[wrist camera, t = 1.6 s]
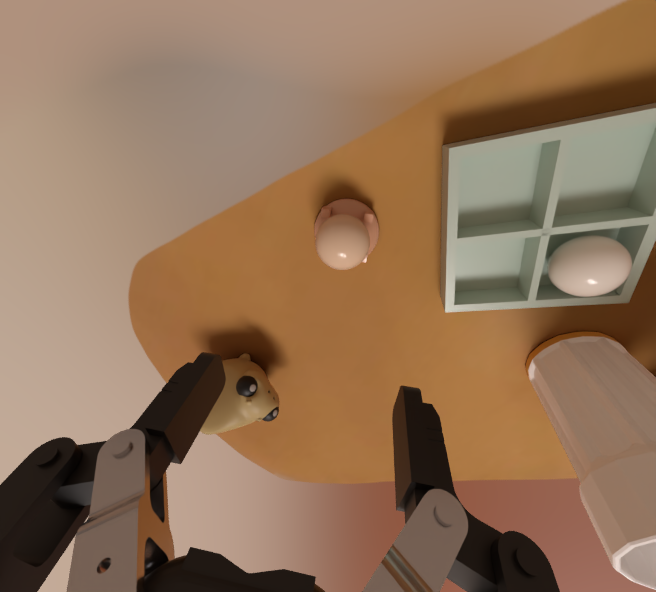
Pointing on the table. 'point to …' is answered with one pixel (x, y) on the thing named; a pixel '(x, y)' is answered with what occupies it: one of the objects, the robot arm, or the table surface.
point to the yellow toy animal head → (242, 397)
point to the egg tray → (544, 207)
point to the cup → (606, 439)
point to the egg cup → (355, 210)
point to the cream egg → (589, 266)
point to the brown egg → (342, 241)
